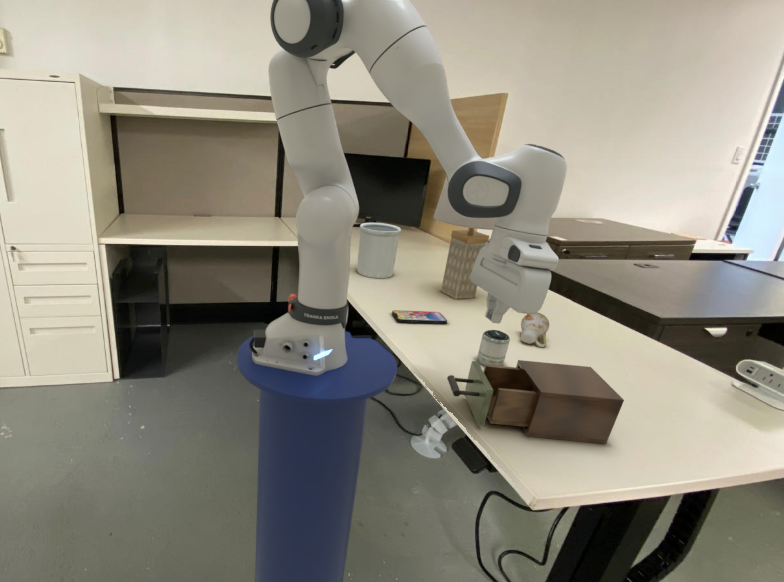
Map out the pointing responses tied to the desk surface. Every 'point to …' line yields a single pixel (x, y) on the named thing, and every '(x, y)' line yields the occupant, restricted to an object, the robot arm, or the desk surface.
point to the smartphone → (419, 317)
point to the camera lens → (493, 348)
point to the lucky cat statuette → (534, 328)
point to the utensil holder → (377, 249)
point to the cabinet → (570, 403)
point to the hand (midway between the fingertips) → (492, 320)
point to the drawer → (497, 394)
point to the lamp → (461, 248)
